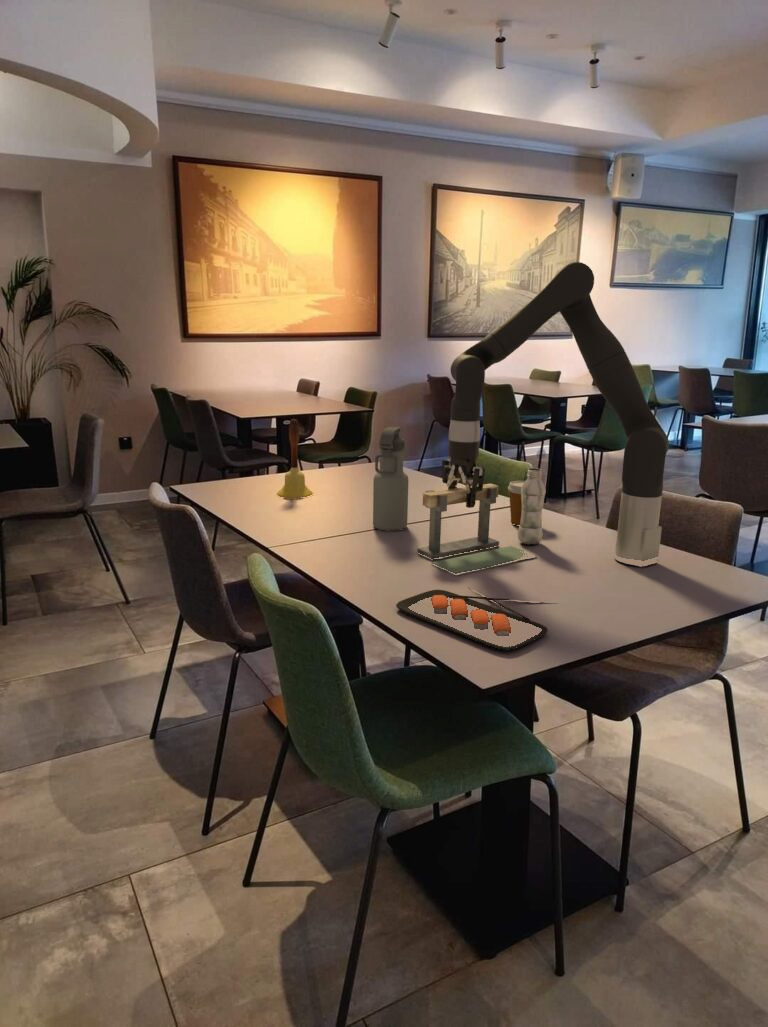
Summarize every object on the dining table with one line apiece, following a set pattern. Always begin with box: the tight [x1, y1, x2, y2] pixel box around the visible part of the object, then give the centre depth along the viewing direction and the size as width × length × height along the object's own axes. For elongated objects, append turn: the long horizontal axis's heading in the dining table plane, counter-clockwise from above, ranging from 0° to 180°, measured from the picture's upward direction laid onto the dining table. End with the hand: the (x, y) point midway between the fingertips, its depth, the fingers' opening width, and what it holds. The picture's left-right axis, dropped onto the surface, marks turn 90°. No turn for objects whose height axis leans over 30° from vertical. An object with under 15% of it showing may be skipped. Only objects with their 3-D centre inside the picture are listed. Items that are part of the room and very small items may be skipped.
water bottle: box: [372, 426, 409, 531], centre depth 200 cm, size 10×10×28 cm
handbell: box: [276, 418, 314, 499], centre depth 237 cm, size 12×12×25 cm
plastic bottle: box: [517, 467, 547, 545], centre depth 188 cm, size 6×7×20 cm
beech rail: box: [422, 483, 500, 509], centre depth 180 cm, size 3×22×3 cm, turn 124°
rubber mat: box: [431, 545, 528, 574], centre depth 176 cm, size 9×26×1 cm, turn 124°
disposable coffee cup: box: [507, 480, 526, 525], centre depth 208 cm, size 10×10×12 cm
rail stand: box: [416, 483, 500, 559], centre depth 182 cm, size 6×22×16 cm, turn 124°
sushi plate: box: [395, 589, 548, 651], centre depth 145 cm, size 29×30×4 cm
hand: (461, 504), depth 181 cm, fingers open, 6 cm apart
